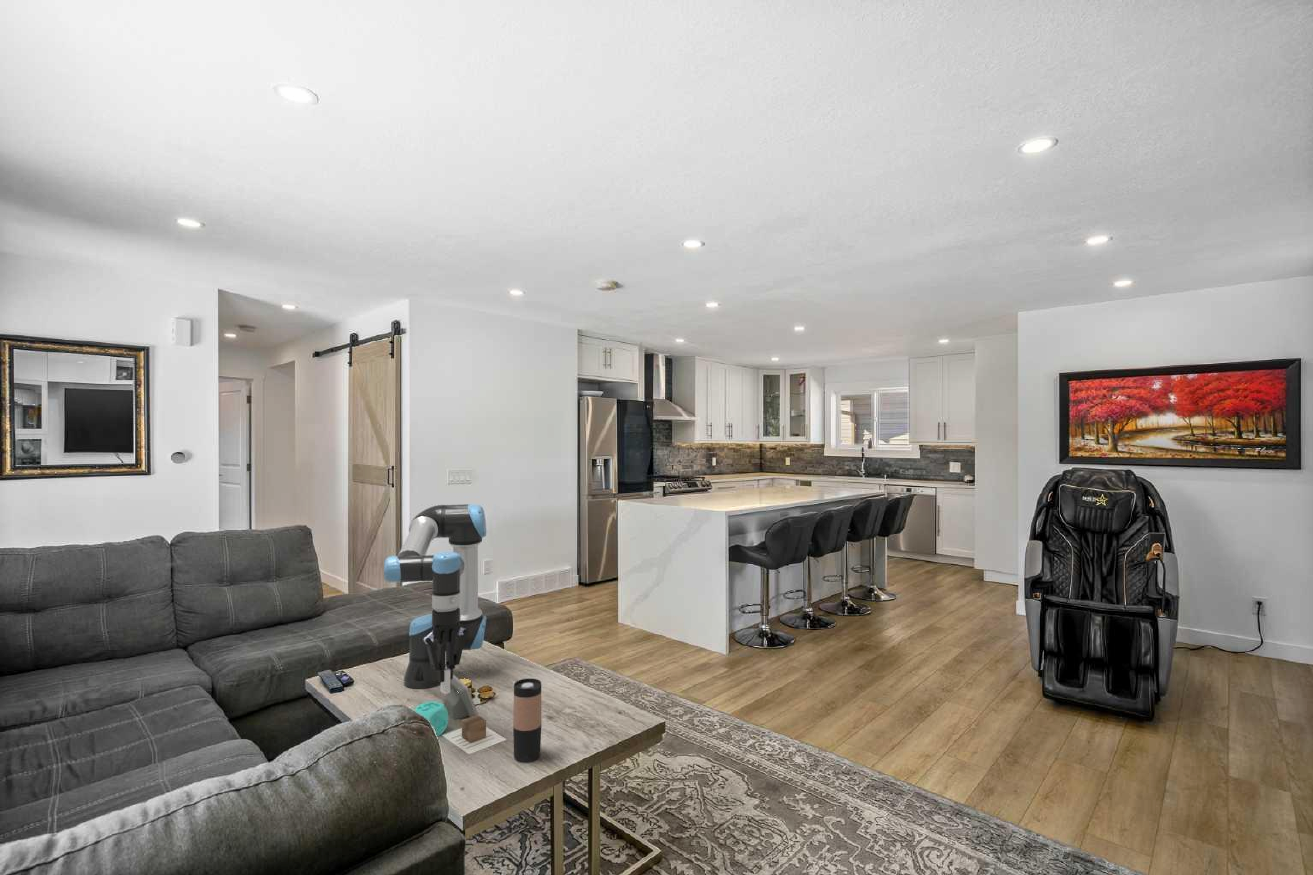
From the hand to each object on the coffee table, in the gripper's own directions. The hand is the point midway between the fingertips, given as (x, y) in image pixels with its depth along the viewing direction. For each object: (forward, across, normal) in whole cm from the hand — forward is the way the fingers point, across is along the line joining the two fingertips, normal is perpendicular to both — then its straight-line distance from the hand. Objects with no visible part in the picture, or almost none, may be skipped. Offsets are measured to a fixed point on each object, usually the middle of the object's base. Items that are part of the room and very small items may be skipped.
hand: (445, 691), depth 174 cm
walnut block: (+16, +9, 0) cm, 18 cm away
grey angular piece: (+16, +15, +19) cm, 29 cm away
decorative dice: (+16, +1, +12) cm, 20 cm away
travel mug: (+16, +14, -20) cm, 29 cm away
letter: (+16, +9, 0) cm, 18 cm away
